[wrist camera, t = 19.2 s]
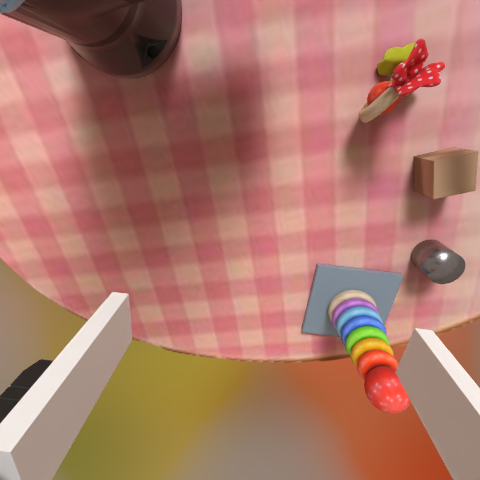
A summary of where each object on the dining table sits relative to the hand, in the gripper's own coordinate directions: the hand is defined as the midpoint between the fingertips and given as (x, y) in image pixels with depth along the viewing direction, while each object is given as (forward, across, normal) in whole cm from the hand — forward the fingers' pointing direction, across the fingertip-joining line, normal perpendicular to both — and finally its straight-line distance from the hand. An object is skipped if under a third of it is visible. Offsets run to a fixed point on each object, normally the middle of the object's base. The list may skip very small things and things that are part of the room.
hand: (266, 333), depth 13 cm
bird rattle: (+32, +14, +14) cm, 38 cm away
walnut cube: (+32, +24, +5) cm, 40 cm away
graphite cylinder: (+32, +28, -8) cm, 43 cm away
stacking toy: (+31, +18, -19) cm, 41 cm away
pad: (+32, +18, -19) cm, 41 cm away
